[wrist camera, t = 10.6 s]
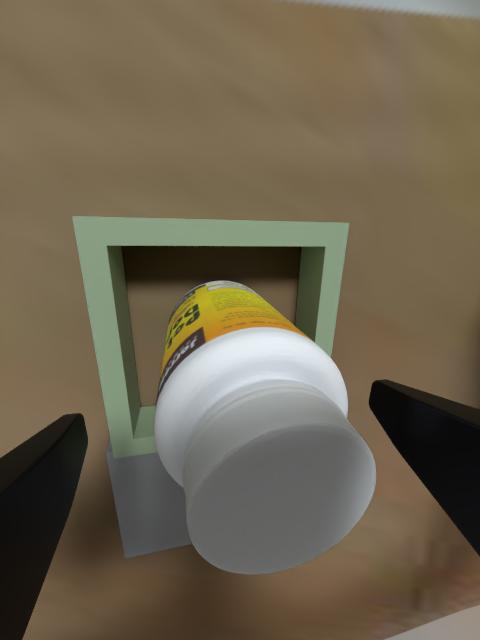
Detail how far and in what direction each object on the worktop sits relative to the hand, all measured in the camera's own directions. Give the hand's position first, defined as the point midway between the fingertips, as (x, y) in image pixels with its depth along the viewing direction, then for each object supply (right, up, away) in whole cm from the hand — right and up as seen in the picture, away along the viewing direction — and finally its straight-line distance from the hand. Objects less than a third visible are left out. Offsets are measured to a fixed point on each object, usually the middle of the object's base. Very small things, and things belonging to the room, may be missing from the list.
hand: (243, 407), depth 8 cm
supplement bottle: (-1, +2, +7) cm, 7 cm away
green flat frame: (-1, -2, +8) cm, 8 cm away
